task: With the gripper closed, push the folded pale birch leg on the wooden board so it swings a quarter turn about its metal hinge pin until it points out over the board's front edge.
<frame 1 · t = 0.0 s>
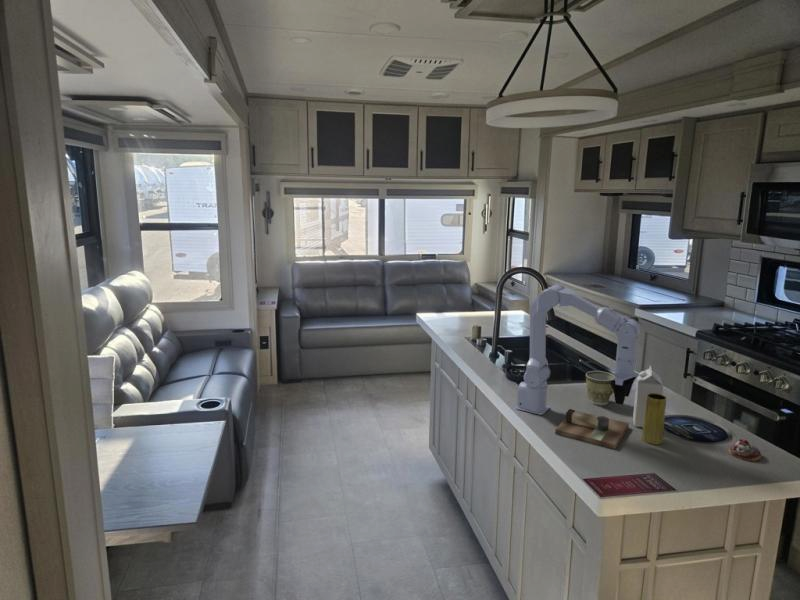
hand: (622, 399, 172), 10 cm above the countertop, tool pointing down, fingers open, 7 cm apart
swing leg: (587, 419, 174), point 3 cm above the countertop, hinge at 0.0°
milk carton: (645, 424, 178), on the countertop
pastry: (744, 456, 158), on the countertop
ceramic cup: (602, 403, 195), on the countertop
wooden board: (592, 430, 174), on the countertop
vase: (652, 440, 167), on the countertop
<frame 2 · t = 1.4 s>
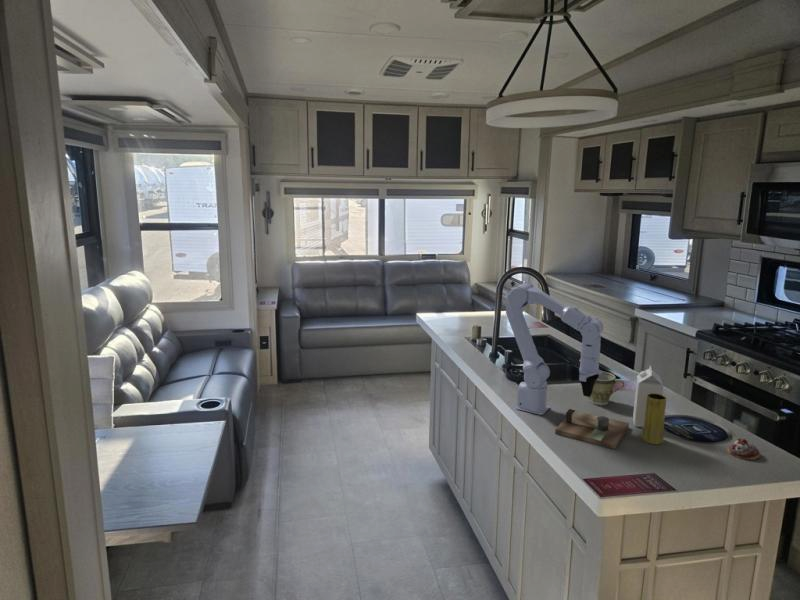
hand: (587, 395, 179), 9 cm above the countertop, tool pointing down, fingers closed
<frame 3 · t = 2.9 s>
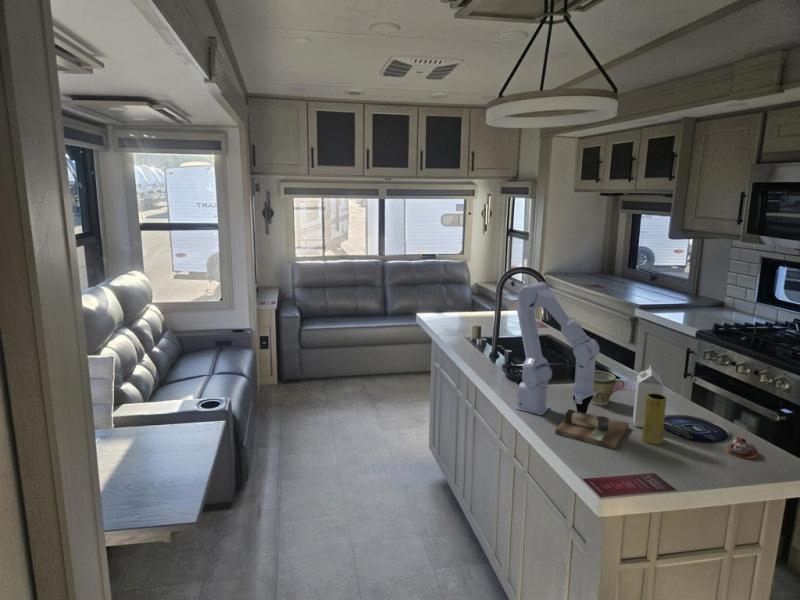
hand: (581, 416, 177), 3 cm above the countertop, tool pointing down, fingers closed, pressing on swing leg
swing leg: (587, 420, 173), point 3 cm above the countertop, hinge at 1.8°, touching gripper
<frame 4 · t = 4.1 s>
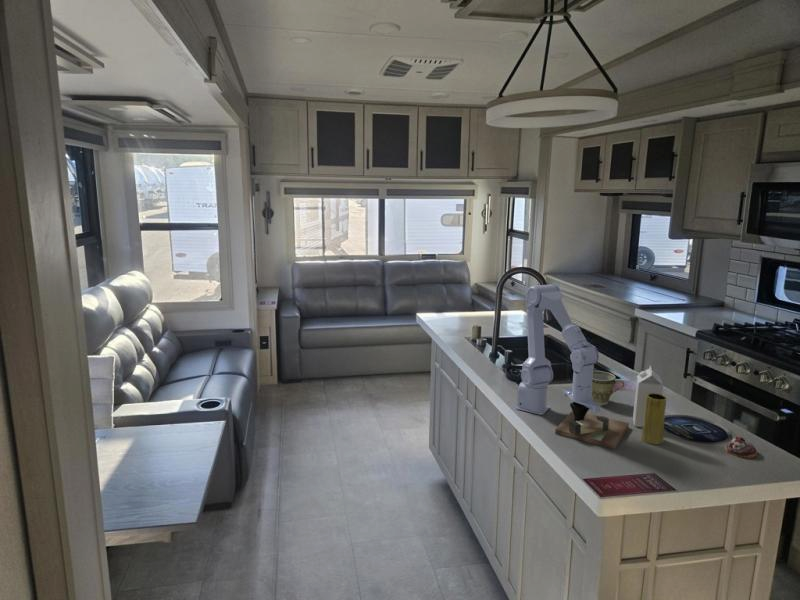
hand: (578, 425, 171), 3 cm above the countertop, tool pointing down, fingers closed, pressing on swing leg
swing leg: (590, 425, 170), point 3 cm above the countertop, hinge at 52.1°, touching gripper
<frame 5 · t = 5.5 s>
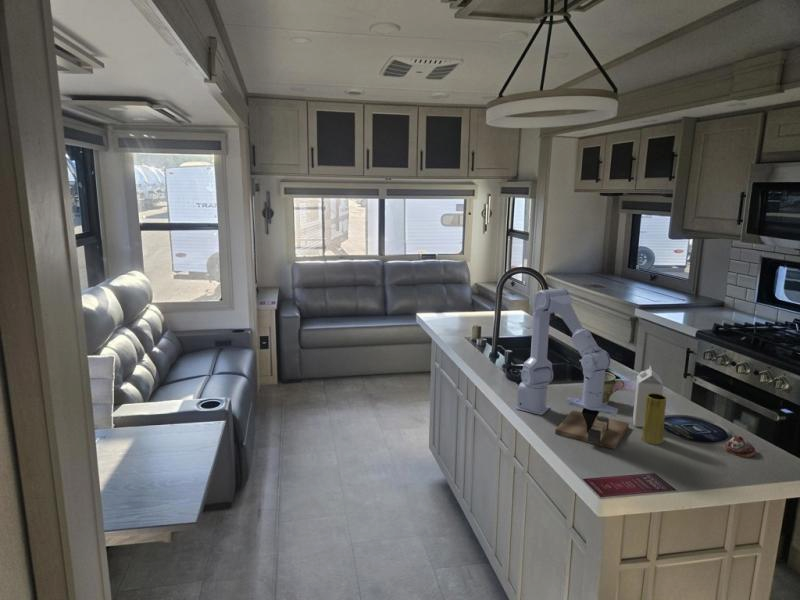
hand: (589, 431, 167), 3 cm above the countertop, tool pointing down, fingers closed
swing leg: (598, 429, 167), point 3 cm above the countertop, hinge at 91.1°, touching gripper
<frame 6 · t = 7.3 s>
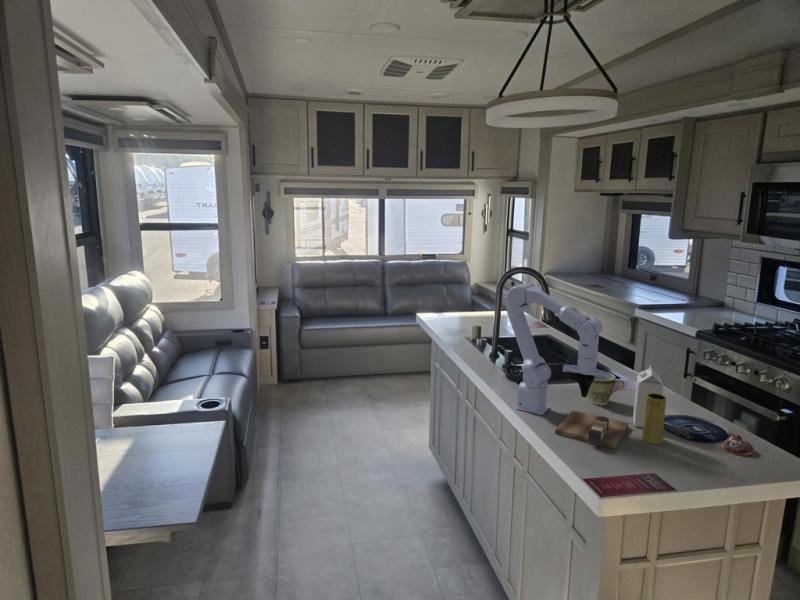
hand: (584, 396, 177), 9 cm above the countertop, tool pointing down, fingers closed
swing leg: (599, 429, 167), point 3 cm above the countertop, hinge at 91.9°
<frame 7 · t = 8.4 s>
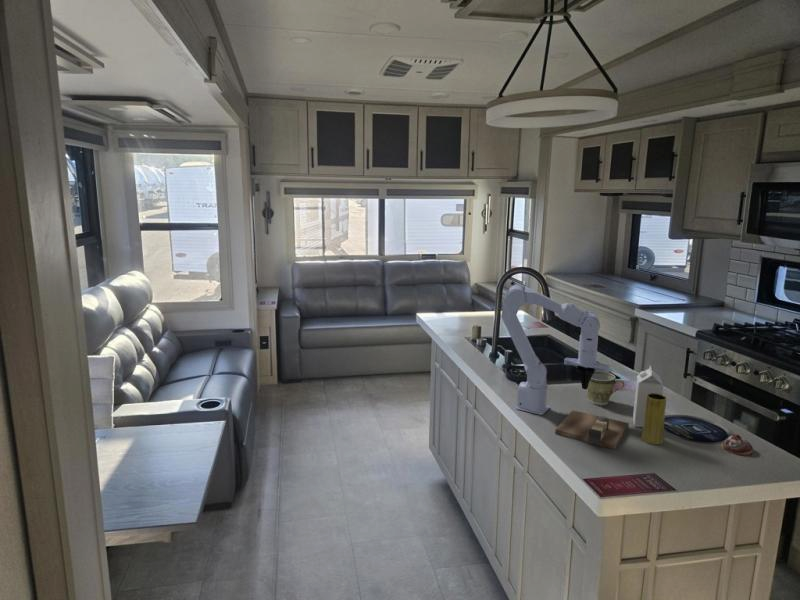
hand: (584, 388, 183), 9 cm above the countertop, tool pointing down, fingers closed
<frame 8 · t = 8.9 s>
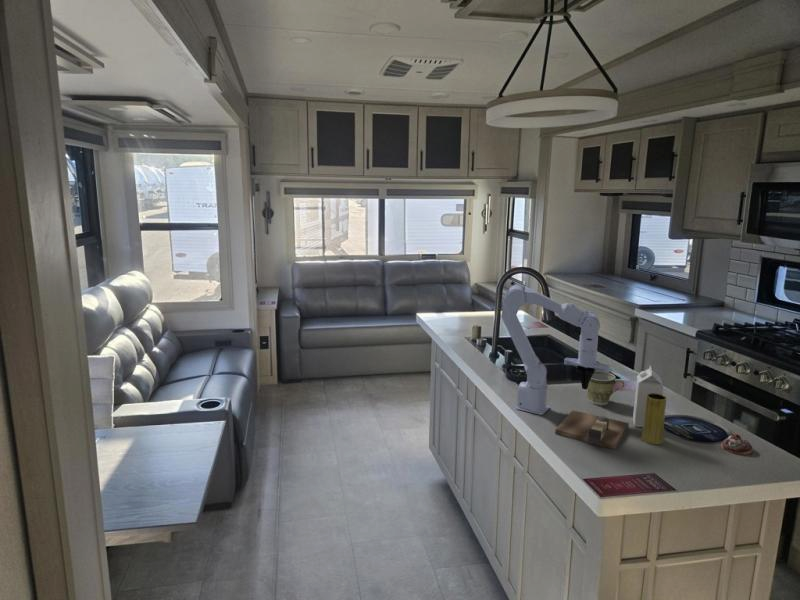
hand: (584, 388, 183), 9 cm above the countertop, tool pointing down, fingers closed
at the end: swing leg at +92° (first picture: +0°) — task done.
